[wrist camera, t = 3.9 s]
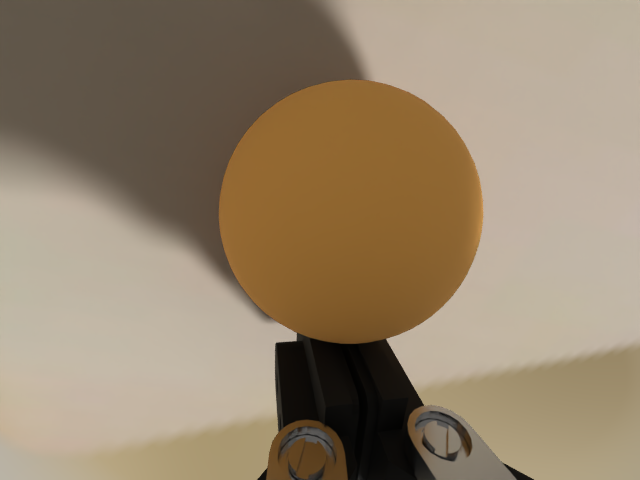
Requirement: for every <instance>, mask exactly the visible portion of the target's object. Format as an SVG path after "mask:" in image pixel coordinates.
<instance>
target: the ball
mask: <svg viewBox="0 0 640 480" xmlns="http://www.w3.org/2000/svg"><path fill="white" fill-rule="evenodd" d="M482 224H483V199H482V191H481V185H480V180H479V176H478V173H477V170H476V166H475V163H474V161H473V159H472V157H471V155H470V153H469V151H468V149H467V147H466V145H465V143H464V142H463V140H462V139H461V137H460V136H459V134H458V133H457V131H456V130H455V129H454V127H453V126H452V125H451V124H450V123H449V122H448V121H447V120H446V119H445V118H444V117H443V116H442V115H441V114H440V113H439V112H437V111H436V110H435V109H434V108H432V107H431V106H430V105H429V104H427V103H426V102H425V101H423V100H422V99H420V98H418V97H416V96H414V95H413V94H411V93H409V92H406V91H404V90H401V89H399V88H396V87H393V86H390V85H387V84H383V83H378V82H373V81H369V80H351V79H350V80H339V81H330V82H326V83H322V84H318V85H314V86H310V87H307V88H305V89H302V90H300V91H297V92H295V93H293V94H291V95H289V96H287V97H286V98H284V99H282V100H281V101H279V102H277V103H276V104H274V105H273V106H272V107H271V108H269V109H268V110H267V111H266V112H264V113H263V114H262V115H261V116H260V117H259V118H258V119H257V120H256V121H255V122H254V123H253V124H252V126H251V127H250V128H249V129H248V130H247V132H246V133H245V134H244V136H243V137H242V139H241V140H240V142H239V143H238V145H237V147H236V149H235V150H234V152H233V154H232V156H231V158H230V160H229V163H228V166H227V169H226V172H225V175H224V178H223V183H222V188H221V193H220V201H219V225H220V234H221V238H222V243H223V247H224V251H225V254H226V256H227V259H228V262H229V264H230V267H231V269H232V271H233V273H234V275H235V277H236V278H237V280H238V282H239V284H240V285H241V286H242V288H243V289H244V290H245V292H246V293H247V294H248V295H249V297H250V298H251V299H252V300H253V302H254V303H255V304H256V305H257V306H258V307H259V308H260V309H261V310H262V311H264V312H265V313H266V314H267V315H269V316H270V317H271V318H273V319H274V320H275V321H277V322H278V323H280V324H282V325H283V326H285V327H287V328H289V329H291V330H292V331H294V332H297V333H299V334H302V335H304V336H307V337H310V338H314V339H318V340H321V341H326V342H333V343H340V344H358V343H369V342H373V341H378V340H383V339H387V338H390V337H393V336H396V335H399V334H401V333H403V332H406V331H408V330H410V329H412V328H414V327H415V326H417V325H419V324H421V323H422V322H424V321H425V320H427V319H428V318H429V317H431V316H432V315H433V314H435V313H436V312H437V311H438V310H439V309H440V308H441V307H443V306H444V304H445V303H446V302H447V301H448V300H449V299H450V298H451V297H452V296H453V294H454V293H455V292H456V290H457V289H458V288H459V286H460V285H461V283H462V282H463V280H464V278H465V277H466V275H467V273H468V271H469V269H470V267H471V265H472V262H473V260H474V257H475V254H476V251H477V248H478V245H479V241H480V237H481V232H482Z"/></svg>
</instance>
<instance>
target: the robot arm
mask: <svg viewBox="0 0 640 480" xmlns="http://www.w3.org/2000/svg"><path fill="white" fill-rule="evenodd" d="M275 383H276V401H277V416H278V431H279V432H278V434H277V435H276V437H275V438H274V440H273V442H272V445H271V449H270V452H269V460H268V468H267V469H266V470H265V471H264V472H263V473H262V475H261V476H260V477H259V478H258V480H534V479H532V478H530V477H528V476H526V475H524V474H523V473H520V472H519V471H517V470H515V469H513V468H511V467H509V466H508V465H506V464H504V463H502V462H501V461H500V460H499V458H498V457H497V456H496V455H495V454H494V453H493V452H492V450H491V449H490V448H489V447H488V446H487V444H486V443H485V442H484V441H483V440H482V439H481V437H480V436H479V435H478V434H477V433H476V432H475V430H474V429H473V428H472V427H471V426H470V425H469V424H468V423H467V422H466V421H465V420H464V419H463V418H462V417H461V416H459V415H457V414H456V413H454V412H453V411H451V410H448V409H446V408H443V407H439V406H433V405H428V406H424V404H423V403H422V401H421V399H420V398H419V396H418V394H417V392H416V391H415V389H414V387H413V385H412V384H411V382H410V380H409V378H408V377H407V375H406V373H405V372H404V370H403V368H402V366H401V365H400V363H399V361H398V359H397V358H396V356H395V354H394V352H393V351H392V349H391V347H390V346H389V344H388V342H387V340H386V339H383V340H378V341H373V342H369V343H358V344H340V343H333V342H326V341H321V340H318V339H314V338H310V337H307V336H304V335H302V334H299V333H297V341H293V342H279V343H276V346H275Z"/></svg>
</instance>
